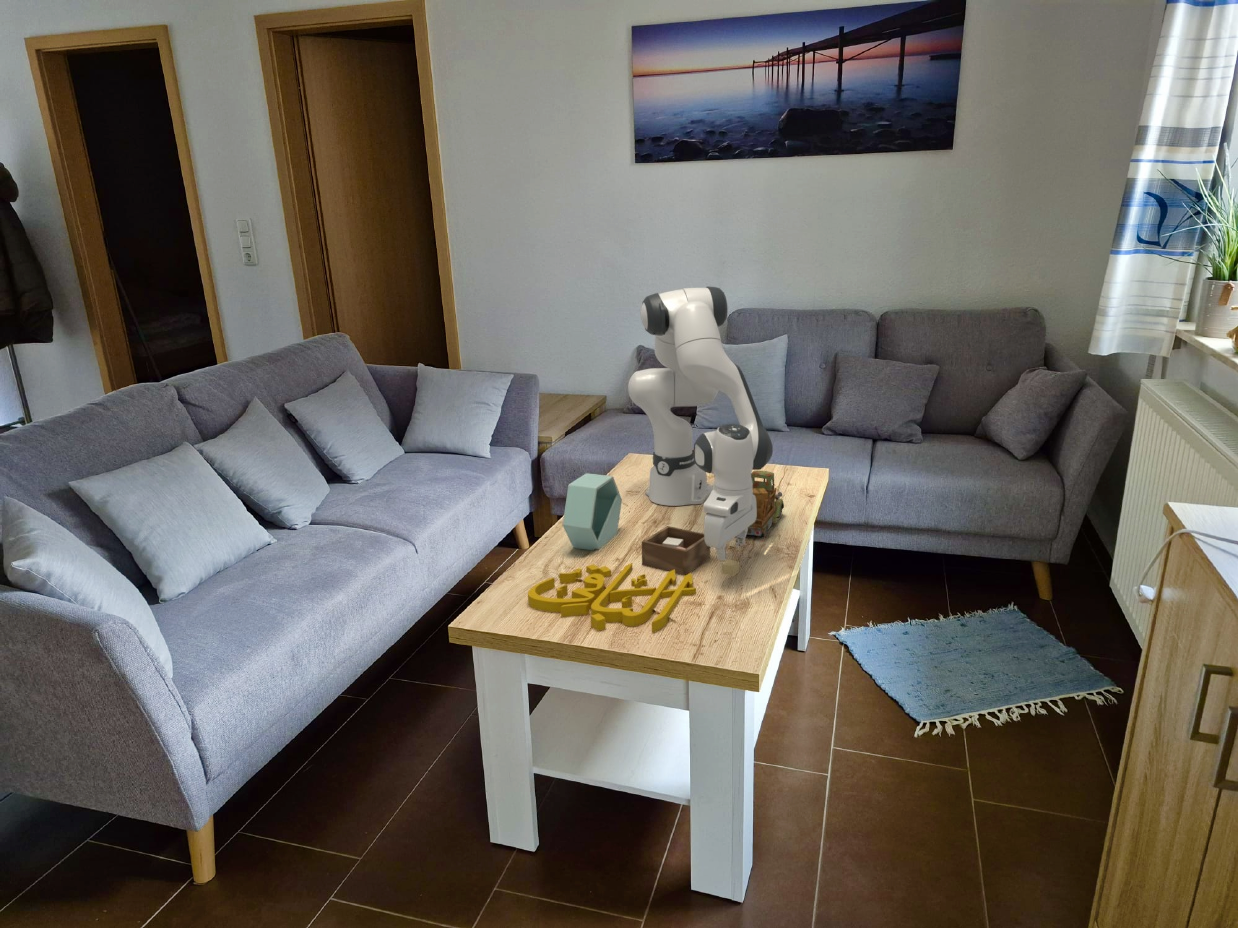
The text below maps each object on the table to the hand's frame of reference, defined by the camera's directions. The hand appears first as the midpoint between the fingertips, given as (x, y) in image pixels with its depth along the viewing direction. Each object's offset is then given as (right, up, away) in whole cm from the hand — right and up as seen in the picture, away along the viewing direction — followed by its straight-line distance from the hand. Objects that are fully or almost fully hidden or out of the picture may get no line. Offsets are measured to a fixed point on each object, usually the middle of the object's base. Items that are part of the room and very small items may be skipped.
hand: (731, 552), depth 197 cm
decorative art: (-27, -10, -9) cm, 30 cm away
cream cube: (-13, -2, +11) cm, 17 cm away
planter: (-32, 0, +22) cm, 39 cm away
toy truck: (+11, +3, +31) cm, 33 cm away
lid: (0, -6, +1) cm, 7 cm away
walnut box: (-12, -4, +8) cm, 15 cm away
